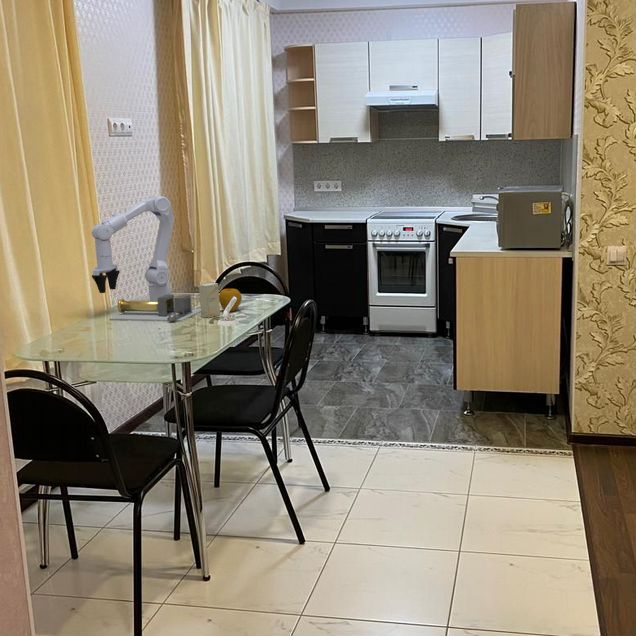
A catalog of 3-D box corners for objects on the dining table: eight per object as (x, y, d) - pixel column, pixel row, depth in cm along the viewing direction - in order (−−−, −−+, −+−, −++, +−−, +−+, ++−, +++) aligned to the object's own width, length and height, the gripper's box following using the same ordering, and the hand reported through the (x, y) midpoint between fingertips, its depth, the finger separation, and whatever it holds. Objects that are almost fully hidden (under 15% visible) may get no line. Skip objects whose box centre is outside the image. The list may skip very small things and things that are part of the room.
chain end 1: (176, 308, 324) (175, 290, 322) (183, 308, 323) (182, 290, 321) (158, 316, 310) (157, 298, 308) (166, 316, 309) (164, 298, 307)
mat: (133, 310, 327) (132, 308, 327) (202, 311, 318) (202, 309, 318) (109, 320, 310) (109, 318, 310) (182, 321, 302) (181, 319, 301)
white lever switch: (250, 310, 289) (233, 301, 287) (232, 337, 292) (215, 328, 290) (249, 302, 296) (232, 293, 294) (232, 328, 299) (215, 319, 297)
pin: (125, 311, 321) (123, 298, 320) (170, 311, 315) (169, 298, 314) (118, 314, 316) (116, 300, 315) (163, 314, 310) (162, 301, 309)
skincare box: (209, 318, 305) (206, 285, 303) (200, 317, 308) (198, 285, 305) (221, 315, 310) (218, 283, 307) (212, 314, 313) (210, 282, 310)
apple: (245, 308, 320) (243, 286, 318) (237, 313, 312) (236, 290, 310) (224, 308, 322) (222, 286, 320) (216, 313, 314) (214, 290, 312)
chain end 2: (184, 312, 315) (183, 294, 313) (191, 312, 314) (190, 294, 312) (166, 320, 301) (165, 302, 299) (174, 321, 300) (172, 302, 299)
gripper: (104, 253, 323) (108, 287, 326) (84, 258, 310) (88, 294, 312) (120, 253, 321) (124, 287, 324) (101, 258, 308) (104, 294, 310)
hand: (107, 291), depth 318 cm, fingers open, 7 cm apart
